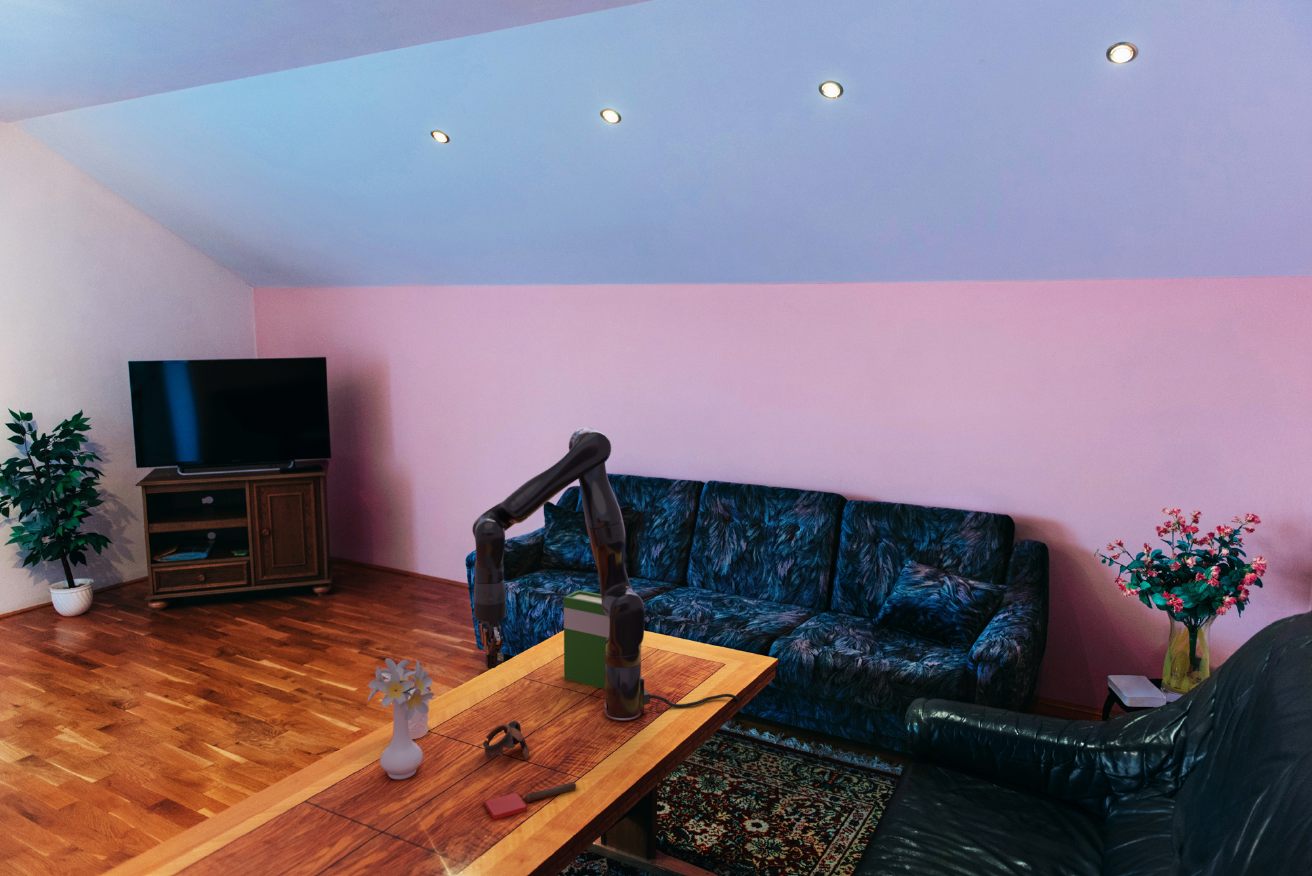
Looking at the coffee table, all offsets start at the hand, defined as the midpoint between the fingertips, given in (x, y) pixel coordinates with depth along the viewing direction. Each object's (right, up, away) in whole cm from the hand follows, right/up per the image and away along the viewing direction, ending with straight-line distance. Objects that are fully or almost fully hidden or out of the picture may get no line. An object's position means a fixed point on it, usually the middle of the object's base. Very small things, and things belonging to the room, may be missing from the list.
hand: (491, 667), depth 203 cm
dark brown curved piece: (+6, -18, -8) cm, 21 cm away
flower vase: (-16, -19, -17) cm, 30 cm away
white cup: (-19, -17, +2) cm, 26 cm away
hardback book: (+24, -13, +33) cm, 43 cm away
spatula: (+14, -21, -27) cm, 37 cm away
